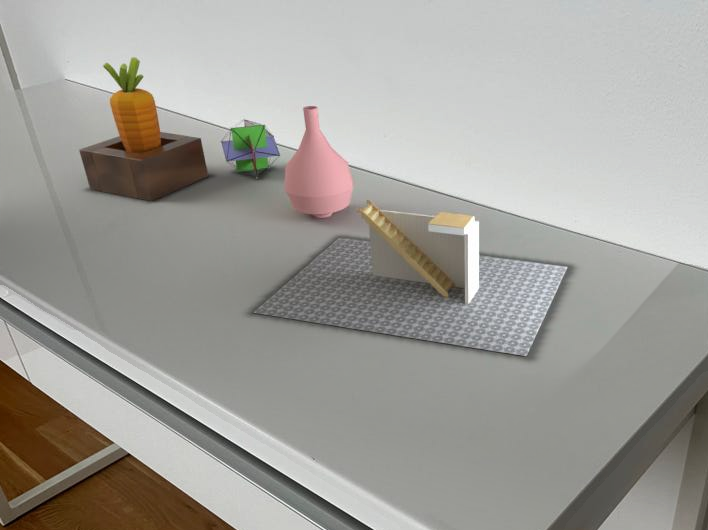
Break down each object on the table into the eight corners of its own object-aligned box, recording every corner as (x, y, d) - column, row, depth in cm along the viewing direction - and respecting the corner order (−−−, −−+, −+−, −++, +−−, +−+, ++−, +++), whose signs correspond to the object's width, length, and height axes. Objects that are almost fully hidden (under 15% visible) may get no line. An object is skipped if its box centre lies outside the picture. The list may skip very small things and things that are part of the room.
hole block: (90, 189, 93) (78, 149, 91) (150, 166, 101) (141, 128, 98) (151, 201, 90) (141, 160, 87) (208, 176, 98) (201, 137, 95)
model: (468, 303, 68) (468, 224, 64) (360, 288, 71) (353, 210, 67) (478, 288, 71) (478, 211, 67) (374, 274, 73) (368, 198, 69)
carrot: (122, 187, 94) (89, 60, 86) (148, 174, 98) (119, 52, 90) (155, 191, 93) (124, 63, 85) (180, 178, 97) (153, 55, 89)
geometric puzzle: (285, 165, 95) (272, 104, 95) (229, 171, 92) (215, 109, 93) (282, 184, 101) (269, 127, 102) (229, 190, 99) (217, 132, 100)
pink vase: (358, 224, 84) (348, 115, 78) (289, 229, 83) (273, 119, 76) (353, 200, 90) (343, 97, 84) (288, 204, 89) (274, 100, 83)
